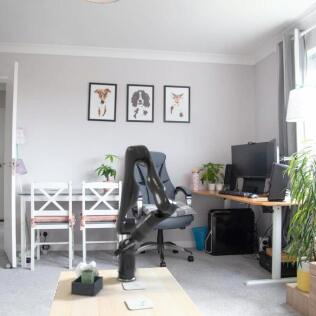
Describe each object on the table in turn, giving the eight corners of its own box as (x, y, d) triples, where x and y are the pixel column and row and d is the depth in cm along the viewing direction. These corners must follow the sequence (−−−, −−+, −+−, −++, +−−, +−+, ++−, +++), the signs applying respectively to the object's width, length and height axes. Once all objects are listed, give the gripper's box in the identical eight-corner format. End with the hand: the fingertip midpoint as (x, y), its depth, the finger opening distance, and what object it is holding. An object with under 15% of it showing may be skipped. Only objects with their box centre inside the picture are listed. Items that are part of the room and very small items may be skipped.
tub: (80, 285, 176) (81, 274, 176) (102, 287, 174) (102, 276, 174) (71, 294, 164) (71, 282, 165) (94, 296, 162) (94, 284, 163)
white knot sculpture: (78, 275, 191) (78, 259, 191) (100, 275, 192) (100, 259, 192) (74, 282, 180) (75, 265, 180) (98, 282, 181) (98, 265, 181)
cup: (84, 287, 172) (84, 268, 173) (95, 288, 171) (95, 269, 172) (79, 291, 167) (79, 272, 167) (90, 292, 166) (91, 273, 166)
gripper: (142, 221, 168) (120, 242, 171) (131, 226, 154) (107, 249, 157) (152, 233, 166) (129, 254, 169) (142, 239, 152) (118, 262, 156)
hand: (119, 252), depth 163 cm, fingers open, 8 cm apart
